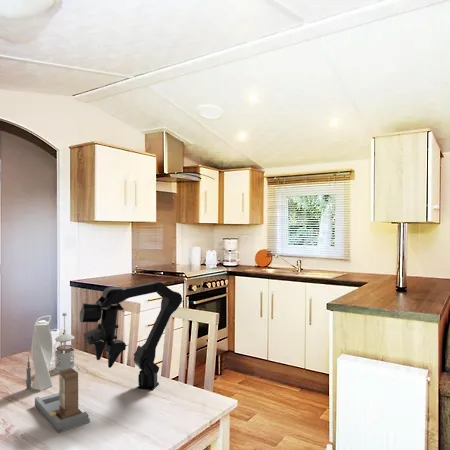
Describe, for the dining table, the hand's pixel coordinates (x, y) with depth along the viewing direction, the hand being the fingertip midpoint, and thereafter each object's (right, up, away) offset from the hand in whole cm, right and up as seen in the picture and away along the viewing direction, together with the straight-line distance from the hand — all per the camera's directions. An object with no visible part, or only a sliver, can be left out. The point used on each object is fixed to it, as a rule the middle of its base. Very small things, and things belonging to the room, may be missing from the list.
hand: (103, 363), depth 147 cm
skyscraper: (-27, -13, +9) cm, 31 cm away
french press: (-26, -13, +29) cm, 41 cm away
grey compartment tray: (-10, -12, -13) cm, 20 cm away
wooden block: (-6, -11, -17) cm, 21 cm away
